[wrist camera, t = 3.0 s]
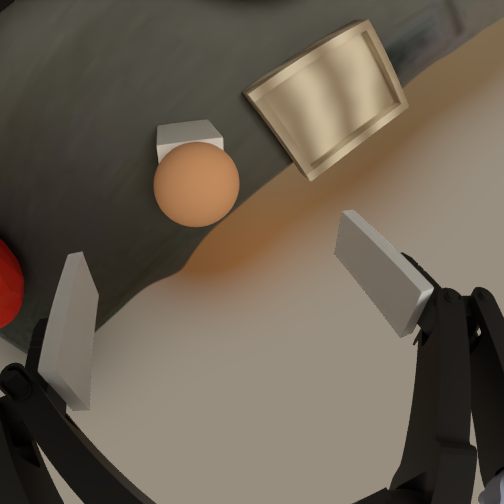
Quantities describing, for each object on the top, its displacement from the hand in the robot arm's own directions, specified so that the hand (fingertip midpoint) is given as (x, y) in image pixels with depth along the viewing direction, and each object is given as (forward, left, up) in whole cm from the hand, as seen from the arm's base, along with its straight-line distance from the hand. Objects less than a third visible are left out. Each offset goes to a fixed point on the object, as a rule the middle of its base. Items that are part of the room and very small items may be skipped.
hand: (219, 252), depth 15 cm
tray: (+16, +5, -19) cm, 25 cm away
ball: (0, 0, -8) cm, 8 cm away
